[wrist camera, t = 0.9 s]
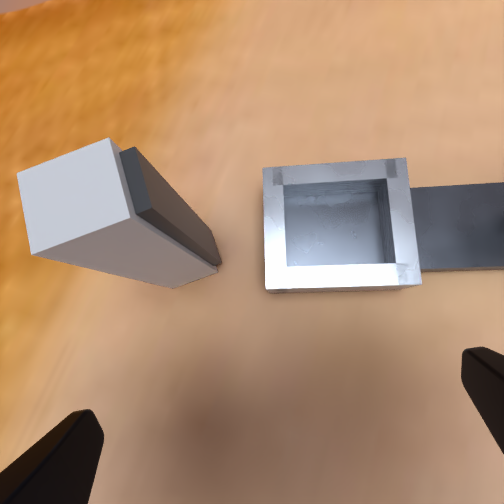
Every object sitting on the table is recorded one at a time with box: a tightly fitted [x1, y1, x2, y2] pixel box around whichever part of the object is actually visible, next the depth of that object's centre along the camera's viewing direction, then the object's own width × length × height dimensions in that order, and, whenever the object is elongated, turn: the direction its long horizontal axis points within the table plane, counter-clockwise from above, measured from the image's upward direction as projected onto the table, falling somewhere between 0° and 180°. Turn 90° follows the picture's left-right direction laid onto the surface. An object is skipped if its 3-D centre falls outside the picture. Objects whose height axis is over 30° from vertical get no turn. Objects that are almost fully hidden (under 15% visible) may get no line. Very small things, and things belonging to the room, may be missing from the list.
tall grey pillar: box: [17, 138, 222, 289], centre depth 16 cm, size 3×4×12 cm
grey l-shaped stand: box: [263, 158, 504, 293], centre depth 14 cm, size 7×20×14 cm, turn 91°
